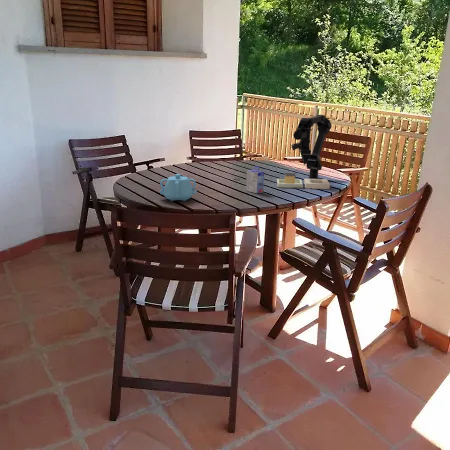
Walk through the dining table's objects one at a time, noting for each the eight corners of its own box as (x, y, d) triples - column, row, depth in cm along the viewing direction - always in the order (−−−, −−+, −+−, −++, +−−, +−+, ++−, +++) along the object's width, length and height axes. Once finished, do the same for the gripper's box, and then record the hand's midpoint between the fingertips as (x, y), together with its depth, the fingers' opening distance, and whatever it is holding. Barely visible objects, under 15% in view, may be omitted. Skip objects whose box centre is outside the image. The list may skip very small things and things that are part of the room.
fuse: (284, 183, 280) (285, 172, 278) (294, 184, 279) (294, 172, 277) (284, 185, 276) (285, 173, 274) (294, 185, 275) (295, 174, 273)
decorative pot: (182, 194, 255) (181, 170, 251) (199, 199, 243) (199, 174, 239) (157, 198, 245) (156, 173, 241) (174, 204, 233) (173, 178, 229)
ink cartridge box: (264, 192, 259) (264, 167, 255) (256, 193, 256) (257, 168, 252) (252, 189, 267) (253, 165, 262) (245, 190, 264) (246, 166, 259)
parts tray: (277, 182, 285) (277, 178, 284) (300, 183, 284) (301, 179, 283) (277, 187, 272) (277, 183, 271) (302, 188, 271) (302, 184, 270)
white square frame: (304, 183, 284) (304, 178, 283) (326, 183, 283) (326, 179, 282) (305, 188, 270) (306, 183, 269) (329, 189, 269) (329, 184, 268)
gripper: (291, 136, 289) (290, 160, 293) (293, 140, 271) (291, 165, 276) (309, 136, 288) (307, 161, 292) (311, 140, 270) (310, 166, 275)
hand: (303, 163), depth 284 cm, fingers open, 9 cm apart
